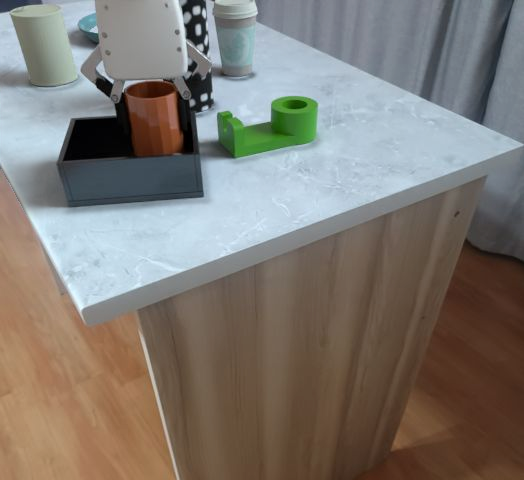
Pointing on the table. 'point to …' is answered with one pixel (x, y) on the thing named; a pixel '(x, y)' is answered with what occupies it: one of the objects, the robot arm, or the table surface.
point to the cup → (154, 118)
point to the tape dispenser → (270, 127)
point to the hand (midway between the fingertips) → (156, 127)
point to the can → (44, 44)
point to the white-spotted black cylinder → (198, 36)
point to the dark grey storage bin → (124, 165)
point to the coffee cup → (235, 34)
